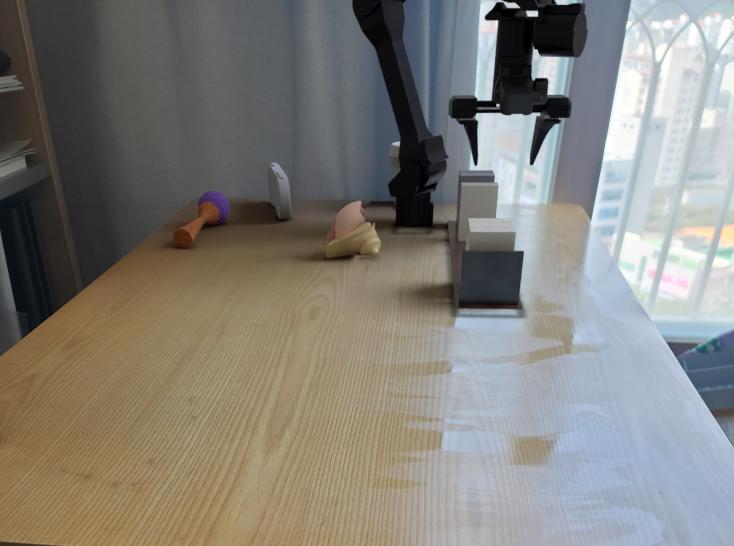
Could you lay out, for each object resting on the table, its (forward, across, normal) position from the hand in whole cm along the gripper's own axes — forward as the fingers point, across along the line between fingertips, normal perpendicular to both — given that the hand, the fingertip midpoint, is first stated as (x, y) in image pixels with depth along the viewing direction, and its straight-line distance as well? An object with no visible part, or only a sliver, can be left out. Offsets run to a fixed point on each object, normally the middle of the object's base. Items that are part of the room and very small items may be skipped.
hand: (503, 165), depth 124 cm
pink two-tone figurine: (+13, -25, -8) cm, 29 cm away
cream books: (+11, -6, -29) cm, 32 cm away
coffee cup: (+13, -14, +26) cm, 33 cm away
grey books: (+12, -3, +7) cm, 14 cm away
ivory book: (+11, -4, -2) cm, 12 cm away
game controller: (+13, -40, +24) cm, 49 cm away
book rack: (+12, -5, -13) cm, 18 cm away
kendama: (+13, -53, +8) cm, 55 cm away
